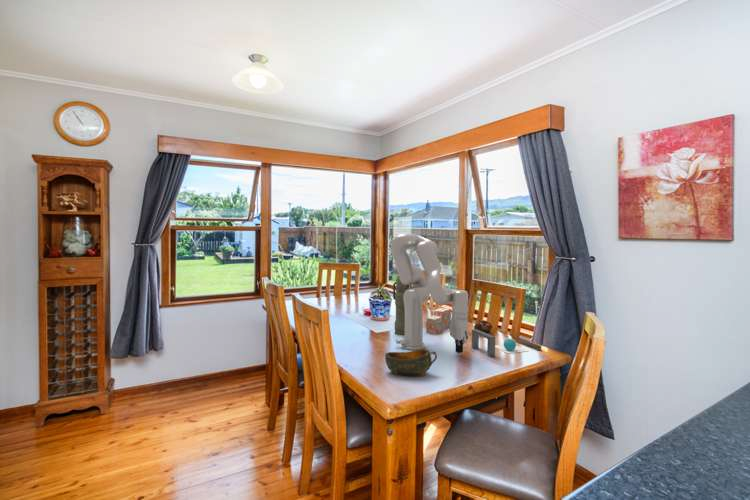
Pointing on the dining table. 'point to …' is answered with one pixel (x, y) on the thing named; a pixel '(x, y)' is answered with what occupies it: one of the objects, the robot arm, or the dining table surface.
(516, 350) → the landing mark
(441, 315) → the stack of blocks
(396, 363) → the cup
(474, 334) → the bridge
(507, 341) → the ball
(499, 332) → the dining table surface
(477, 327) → the decorative turtle
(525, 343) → the stopper wall
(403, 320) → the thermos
